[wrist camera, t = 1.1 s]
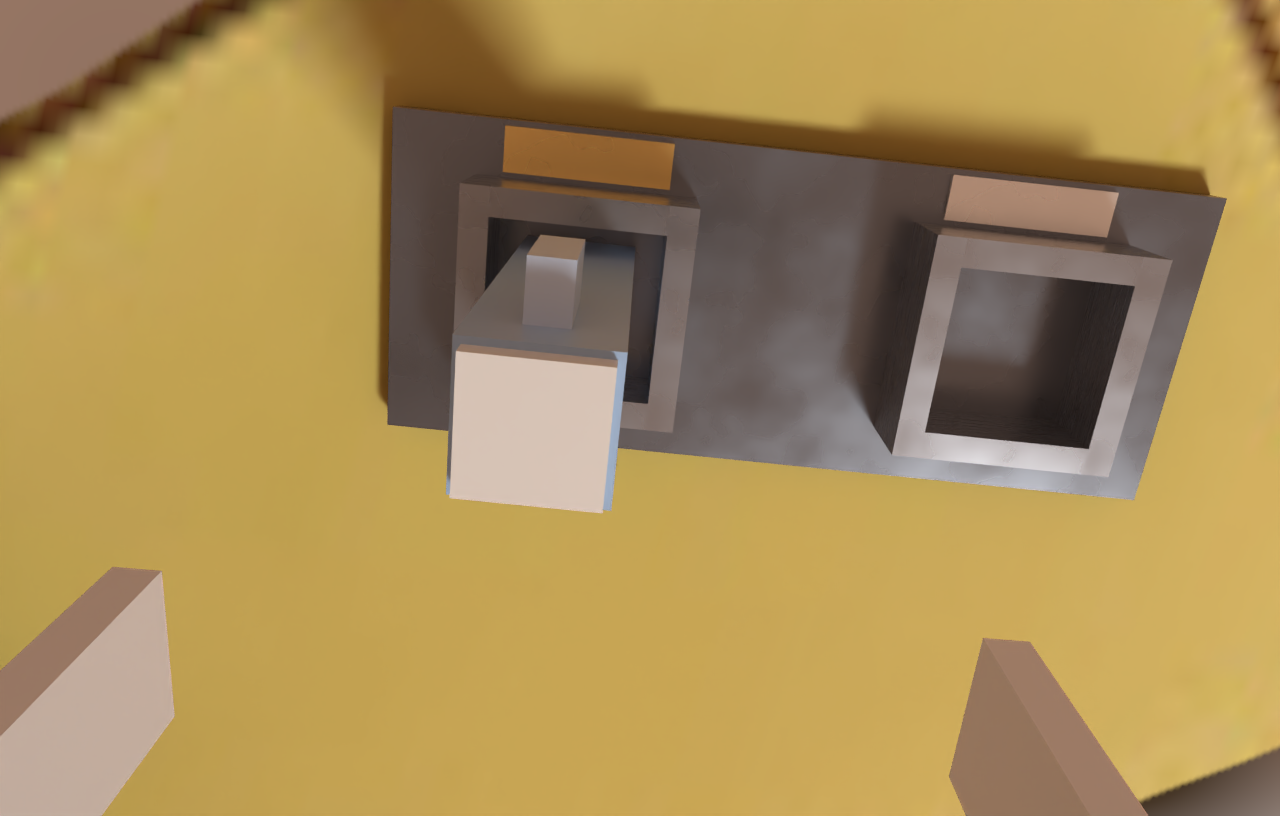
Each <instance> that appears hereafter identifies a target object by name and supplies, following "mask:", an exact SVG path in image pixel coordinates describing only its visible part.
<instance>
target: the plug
mask: <svg viewBox="0 0 1280 816" xmlns="http://www.w3.org/2000/svg"><path fill="white" fill-rule="evenodd" d="M635 249H636V247H631V246H621V245H612V244H602V243H593V242H585V239H577V238H567V237H558V236H549V235H540V236H539V237H537V236H528V235H527V237H526V238H525V239H524V241H523V242H522V243H521V244H520V246H519V247H518V248H517V250H516V251H515V252H514V254H513V255H512V256H511V258H510V259H509V260H508V262H507V263H506V264H505V266H504V267H503V268H502V270H501V271H500V272H499V274H498V275H497V276H496V278H495V279H494V280H493V282H492V283H491V284H490V285H489V287H488V288H487V289H486V291H485V292H484V293H483V295H482V296H481V297H480V299H479V300H478V301H477V303H476V304H475V305H474V307H473V308H472V309H471V311H470V312H469V313H468V315H467V316H466V317H465V319H464V320H463V321H462V323H461V324H460V325H459V326H458V328H457V329H456V330H455V332H454V333H453V334H452V359H451V383H450V408H449V433H448V458H447V483H446V494H449V495H450V498H454V499H464V500H474V501H484V502H494V503H504V504H515V505H525V506H535V507H545V508H555V509H565V510H575V511H585V512H595V513H603V510H610V511H611V507H612V497H613V488H614V478H615V469H616V459H617V450H618V440H619V431H620V421H621V412H622V402H623V393H624V383H625V374H626V364H627V355H628V342H629V329H630V315H631V302H632V289H633V275H634V262H635Z"/></svg>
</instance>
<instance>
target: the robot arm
mask: <svg viewBox="0 0 1280 816" xmlns="http://www.w3.org/2000/svg"><path fill="white" fill-rule="evenodd" d="M173 718H174V705H173V693H172V682H171V671H170V659H169V648H168V637H167V625H166V614H165V603H164V591H163V580H162V571H155V570H143V569H131V568H119V567H112V568H111V569H110V570H109V571H108V572H107V573H106V574H104V575H103V576H102V577H101V578H100V579H99V580H98V581H97V582H96V583H95V584H94V585H93V586H91V587H90V588H89V589H88V590H87V591H86V592H85V593H84V594H83V595H82V596H81V597H80V598H78V599H77V600H76V601H75V602H74V603H73V604H72V605H71V606H70V607H69V608H68V609H67V610H65V611H64V612H63V613H62V614H61V615H60V616H59V617H58V618H57V619H56V620H55V621H54V622H52V623H51V624H50V625H49V626H48V627H47V628H46V629H45V630H44V631H43V632H42V633H41V634H39V635H38V636H37V637H36V638H35V639H34V640H33V641H32V642H31V643H30V644H29V645H28V646H26V647H25V648H24V649H23V650H22V651H21V652H20V653H19V654H18V655H17V656H16V657H15V658H13V659H12V660H11V661H10V662H9V663H8V664H7V665H6V666H5V667H4V668H3V669H2V670H0V816H102V814H103V813H104V812H105V810H106V809H107V808H108V806H109V805H110V804H111V802H112V801H113V799H114V798H115V797H116V795H117V794H118V793H119V791H120V790H121V789H122V787H123V786H124V784H125V783H126V782H127V780H128V779H129V778H130V776H131V775H132V774H133V772H134V771H135V769H136V768H137V767H138V765H139V764H140V763H141V761H142V760H143V759H144V757H145V756H146V754H147V753H148V752H149V750H150V749H151V748H152V746H153V745H154V744H155V742H156V741H157V739H158V738H159V737H160V735H161V734H162V733H163V731H164V730H165V729H166V727H167V726H168V724H169V723H170V722H171V720H172V719H173ZM949 778H950V780H951V782H952V785H953V787H954V789H955V791H956V794H957V796H958V798H959V801H960V803H961V805H962V808H963V810H964V812H965V814H966V816H1148V815H1147V813H1146V812H1145V810H1144V809H1143V807H1142V806H1141V804H1140V803H1139V801H1138V800H1137V798H1136V797H1135V796H1134V794H1133V793H1132V791H1131V790H1130V788H1129V787H1128V785H1127V784H1126V782H1125V781H1124V779H1123V778H1122V776H1121V775H1120V773H1119V772H1118V771H1117V769H1116V768H1115V766H1114V765H1113V763H1112V762H1111V760H1110V759H1109V757H1108V756H1107V754H1106V753H1105V751H1104V750H1103V749H1102V747H1101V746H1100V744H1099V743H1098V741H1097V740H1096V738H1095V737H1094V735H1093V734H1092V732H1091V731H1090V729H1089V728H1088V726H1087V725H1086V724H1085V722H1084V721H1083V719H1082V718H1081V716H1080V715H1079V713H1078V712H1077V710H1076V709H1075V707H1074V706H1073V704H1072V703H1071V702H1070V700H1069V699H1068V697H1067V696H1066V694H1065V693H1064V691H1063V690H1062V688H1061V687H1060V685H1059V684H1058V682H1057V681H1056V680H1055V678H1054V677H1053V675H1052V674H1051V672H1050V671H1049V669H1048V668H1047V666H1046V665H1045V663H1044V662H1043V660H1042V659H1041V657H1040V656H1039V655H1038V653H1037V652H1036V650H1035V649H1034V647H1033V646H1032V644H1031V643H1030V642H1025V641H1012V640H1000V639H988V638H983V641H982V645H981V649H980V653H979V657H978V661H977V665H976V669H975V673H974V677H973V681H972V685H971V689H970V693H969V697H968V701H967V705H966V710H965V714H964V718H963V722H962V726H961V730H960V734H959V738H958V742H957V746H956V750H955V754H954V758H953V762H952V766H951V770H950V774H949Z"/></svg>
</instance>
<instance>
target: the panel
mask: <svg viewBox="0 0 1280 816" xmlns="http://www.w3.org/2000/svg"><path fill="white" fill-rule="evenodd" d="M1226 200H1227V199H1226V198H1222V197H1217V196H1212V195H1204V194H1195V193H1186V192H1177V191H1168V190H1159V189H1150V188H1141V187H1132V186H1122V185H1113V184H1104V183H1095V182H1086V181H1077V180H1068V179H1059V178H1050V177H1041V176H1032V175H1023V174H1014V173H1004V172H995V171H986V170H977V169H968V168H959V167H950V166H941V165H932V164H923V163H914V162H905V161H896V160H886V159H877V158H868V157H859V156H850V155H841V154H832V153H823V152H814V151H805V150H796V149H787V148H777V147H768V146H759V145H750V144H741V143H732V142H723V141H714V140H705V139H696V138H687V137H678V136H669V135H659V134H650V133H641V132H632V131H623V130H614V129H605V128H596V127H587V126H578V125H569V124H560V123H551V122H541V121H532V120H523V119H514V118H505V117H496V116H487V115H478V114H469V113H460V112H451V111H442V110H432V109H423V108H414V107H405V106H395V107H393V129H392V188H391V248H390V307H389V366H388V425H396V426H406V427H416V428H426V429H436V430H446V431H449V408H450V383H451V359H452V334H453V333H454V332H455V330H456V329H457V328H458V326H459V325H460V324H461V323H462V321H463V320H464V319H465V317H466V316H467V315H468V313H469V312H470V311H471V309H472V308H473V307H474V305H475V304H476V303H477V301H478V300H479V299H480V297H481V296H482V295H483V293H484V292H485V291H486V289H487V288H488V287H489V285H490V284H491V283H492V282H493V280H494V279H495V278H496V276H497V275H498V274H499V272H500V271H501V270H502V268H503V267H504V266H505V264H506V263H507V262H508V260H509V259H510V258H511V256H512V255H513V254H514V252H515V251H516V250H517V248H518V247H519V246H520V244H521V243H522V242H523V241H524V239H525V238H526V237H527V235H528V236H537V237H539V236H540V235H549V236H558V237H567V238H577V239H585V242H593V243H602V244H612V245H621V246H631V247H636V249H635V262H634V275H633V289H632V302H631V315H630V329H629V342H628V355H627V364H626V374H625V383H624V393H623V402H622V412H621V421H620V431H619V440H618V448H624V449H634V450H644V451H654V452H664V453H674V454H684V455H693V456H703V457H713V458H723V459H733V460H743V461H753V462H763V463H773V464H783V465H792V466H802V467H812V468H822V469H832V470H842V471H852V472H862V473H872V474H882V475H891V476H901V477H911V478H921V479H931V480H941V481H951V482H961V483H971V484H981V485H990V486H1000V487H1010V488H1020V489H1030V490H1040V491H1050V492H1060V493H1070V494H1080V495H1089V496H1099V497H1109V498H1119V499H1129V500H1134V498H1135V495H1136V491H1137V488H1138V485H1139V482H1140V478H1141V475H1142V472H1143V469H1144V465H1145V462H1146V459H1147V456H1148V452H1149V449H1150V446H1151V443H1152V439H1153V436H1154V433H1155V430H1156V427H1157V423H1158V420H1159V417H1160V414H1161V410H1162V407H1163V404H1164V401H1165V397H1166V394H1167V391H1168V388H1169V384H1170V381H1171V378H1172V375H1173V371H1174V368H1175V365H1176V362H1177V358H1178V355H1179V352H1180V349H1181V345H1182V342H1183V339H1184V336H1185V333H1186V329H1187V326H1188V323H1189V320H1190V316H1191V313H1192V310H1193V307H1194V303H1195V300H1196V297H1197V294H1198V290H1199V287H1200V284H1201V281H1202V277H1203V274H1204V271H1205V268H1206V264H1207V261H1208V258H1209V255H1210V251H1211V248H1212V245H1213V242H1214V239H1215V235H1216V232H1217V229H1218V226H1219V222H1220V219H1221V216H1222V213H1223V209H1224V206H1225V203H1226Z"/></svg>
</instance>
